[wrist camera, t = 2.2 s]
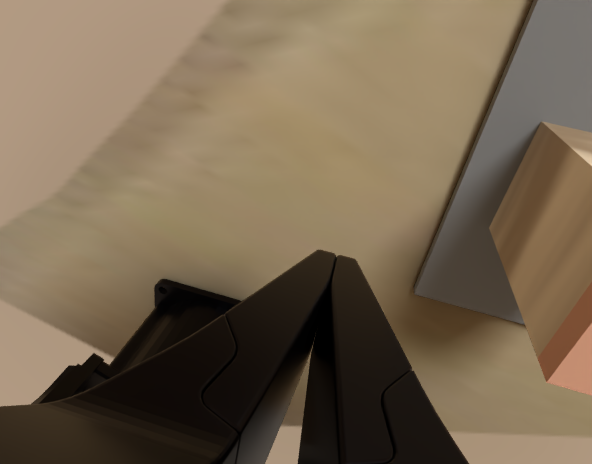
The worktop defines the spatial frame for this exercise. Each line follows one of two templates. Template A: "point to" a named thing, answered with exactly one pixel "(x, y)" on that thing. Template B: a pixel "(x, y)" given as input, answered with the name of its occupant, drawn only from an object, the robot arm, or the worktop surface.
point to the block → (552, 251)
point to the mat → (510, 154)
